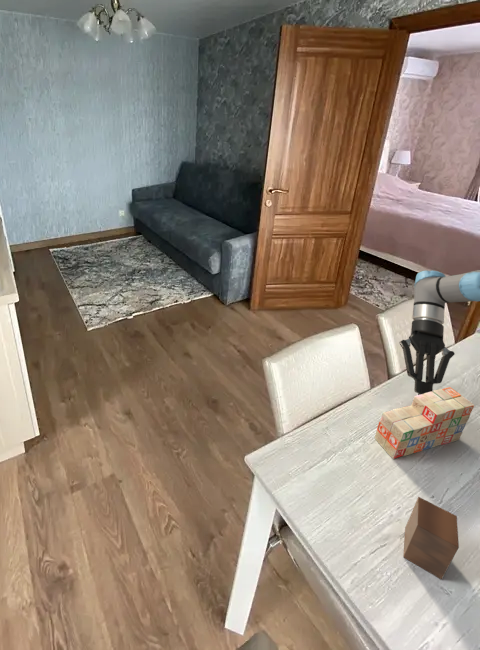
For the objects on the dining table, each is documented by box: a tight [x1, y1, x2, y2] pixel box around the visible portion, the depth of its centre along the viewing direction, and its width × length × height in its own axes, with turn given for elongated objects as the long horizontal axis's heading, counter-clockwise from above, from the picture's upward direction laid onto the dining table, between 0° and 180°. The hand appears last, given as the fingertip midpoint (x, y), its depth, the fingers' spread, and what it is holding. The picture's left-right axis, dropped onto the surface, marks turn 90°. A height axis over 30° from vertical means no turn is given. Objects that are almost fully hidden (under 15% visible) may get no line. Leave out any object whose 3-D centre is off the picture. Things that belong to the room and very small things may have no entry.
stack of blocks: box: [373, 386, 475, 460], centre depth 87 cm, size 21×6×12 cm, turn 105°
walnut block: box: [402, 496, 460, 580], centre depth 65 cm, size 6×6×10 cm
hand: (422, 407), depth 93 cm, fingers closed
